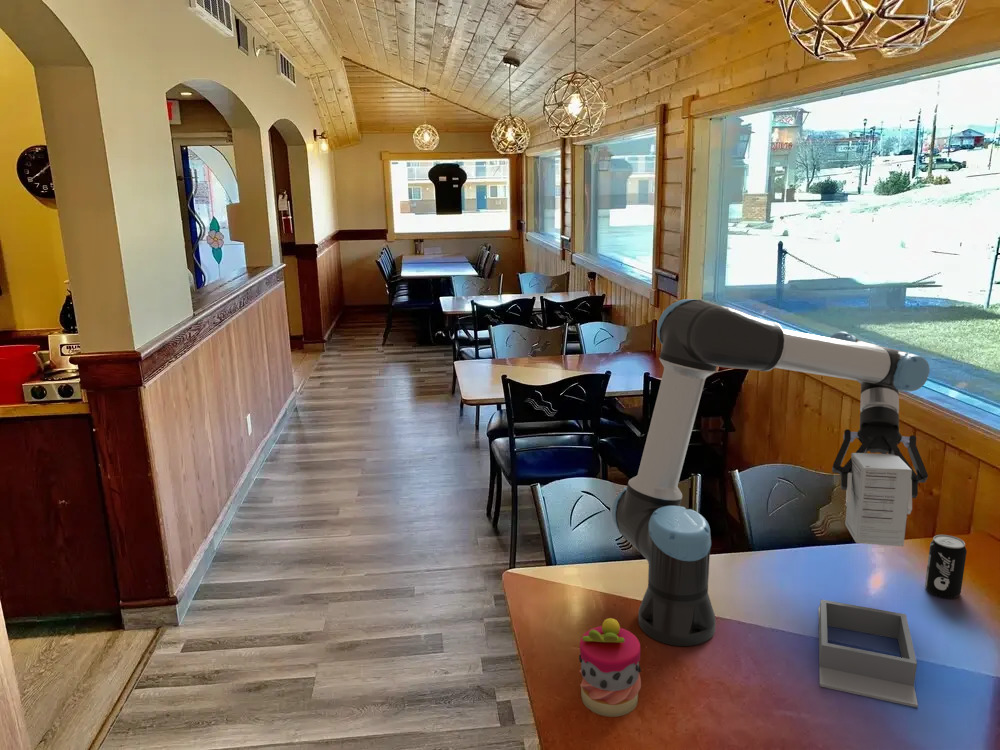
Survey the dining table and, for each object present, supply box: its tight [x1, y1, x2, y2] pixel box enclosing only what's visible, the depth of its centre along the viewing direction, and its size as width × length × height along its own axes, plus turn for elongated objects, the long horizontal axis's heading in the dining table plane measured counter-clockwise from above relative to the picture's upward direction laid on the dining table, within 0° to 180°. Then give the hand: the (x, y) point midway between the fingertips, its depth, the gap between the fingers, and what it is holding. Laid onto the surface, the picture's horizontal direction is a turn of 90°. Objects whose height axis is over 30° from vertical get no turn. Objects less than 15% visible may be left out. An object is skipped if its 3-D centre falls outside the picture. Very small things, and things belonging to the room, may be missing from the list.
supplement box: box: [844, 452, 912, 547], centre depth 148 cm, size 10×9×17 cm
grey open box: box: [817, 599, 919, 709], centre depth 133 cm, size 15×26×5 cm, turn 157°
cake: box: [578, 617, 642, 718], centre depth 122 cm, size 10×11×15 cm
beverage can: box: [924, 534, 968, 599], centre depth 151 cm, size 7×7×12 cm
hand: (878, 507), depth 145 cm, fingers closed on supplement box, 10 cm apart
